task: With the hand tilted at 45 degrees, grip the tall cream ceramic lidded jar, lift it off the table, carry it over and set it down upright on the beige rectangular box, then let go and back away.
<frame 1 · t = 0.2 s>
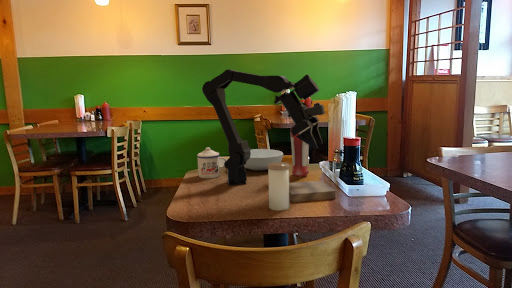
hand: (319, 146, 125), 15 cm above the table, tool tilted 35°, fingers open, 9 cm apart
liquor: (300, 176, 147), on the table
cream jar: (279, 207, 110), on the table
teacup with lid: (212, 176, 151), on the table
serving bowl: (259, 168, 162), on the table
beige rectangular box: (307, 194, 121), on the table
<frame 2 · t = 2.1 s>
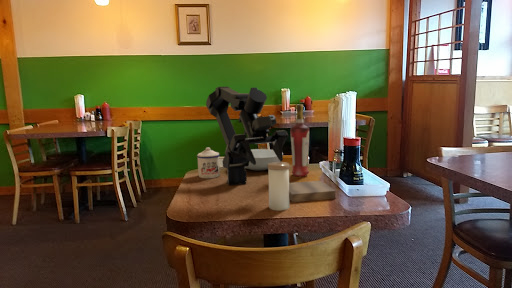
hand: (268, 162, 113), 12 cm above the table, tool tilted 45°, fingers open, 9 cm apart
nothing on the table moved.
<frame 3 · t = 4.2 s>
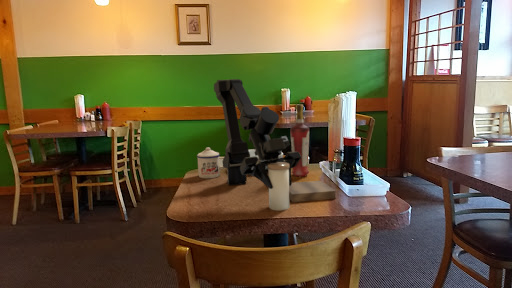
hand: (281, 186, 107), 7 cm above the table, tool tilted 45°, fingers closed on cream jar, 6 cm apart
cream jar: (279, 207, 110), on the table, touching gripper
everything else where it was.
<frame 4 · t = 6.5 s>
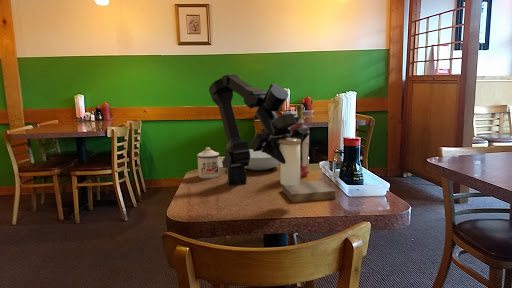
hand: (293, 161, 108), 13 cm above the table, tool tilted 45°, fingers closed on cream jar, 6 cm apart
cream jar: (290, 182, 111), point 7 cm above the table, touching gripper
everything else where it was.
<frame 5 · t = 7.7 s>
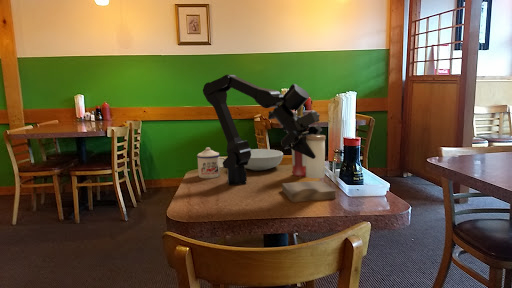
hand: (319, 156, 117), 13 cm above the table, tool tilted 45°, fingers closed on cream jar, 6 cm apart
cream jar: (315, 175, 119), point 7 cm above the table, touching gripper
everything else where it was.
when the fingers open (10 cm above the table, at t = 8.7 s): cream jar drops 1 cm, resting on beige rectangular box.
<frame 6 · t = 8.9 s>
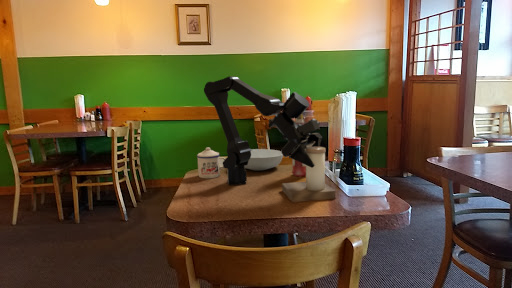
hand: (319, 164, 117), 11 cm above the table, tool tilted 45°, fingers open, 8 cm apart
cream jar: (315, 187, 119), point 3 cm above the table, touching beige rectangular box
everything else where it was.
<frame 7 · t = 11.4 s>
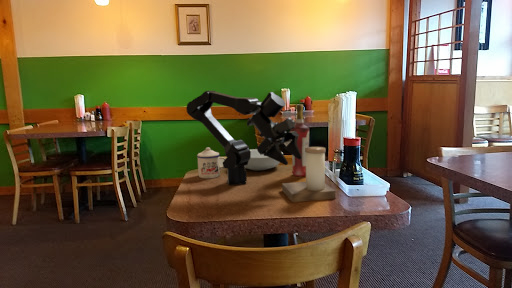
hand: (294, 161, 123), 11 cm above the table, tool tilted 45°, fingers open, 9 cm apart
nothing on the table moved.
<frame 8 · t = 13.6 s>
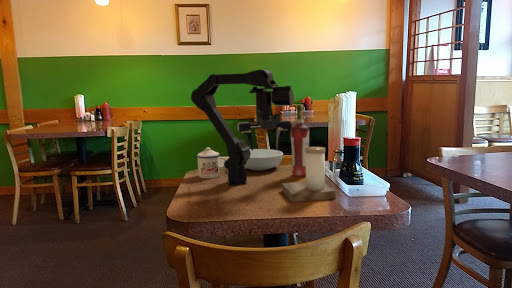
hand: (264, 149, 132), 13 cm above the table, tool pointing down, fingers open, 9 cm apart
nothing on the table moved.
at the end: cream jar inside the target area on the beige rectangular box (2.8 cm from its centre), point 2.5 cm above the beige rectangular box's base; cream jar tilted 0°; the gripper is holding nothing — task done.
